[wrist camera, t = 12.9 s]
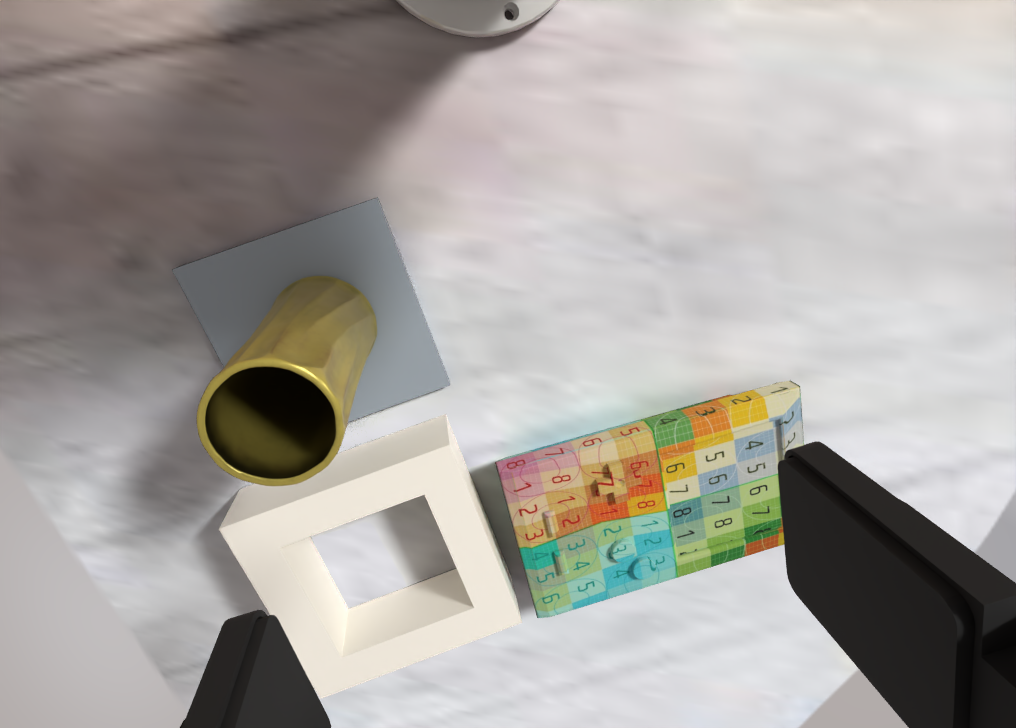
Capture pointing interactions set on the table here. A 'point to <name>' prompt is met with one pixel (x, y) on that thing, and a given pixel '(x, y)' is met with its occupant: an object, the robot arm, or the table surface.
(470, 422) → the table surface
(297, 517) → the well board
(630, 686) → the table surface
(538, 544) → the puzzle game
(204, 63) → the table surface
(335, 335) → the vase
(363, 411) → the mat
